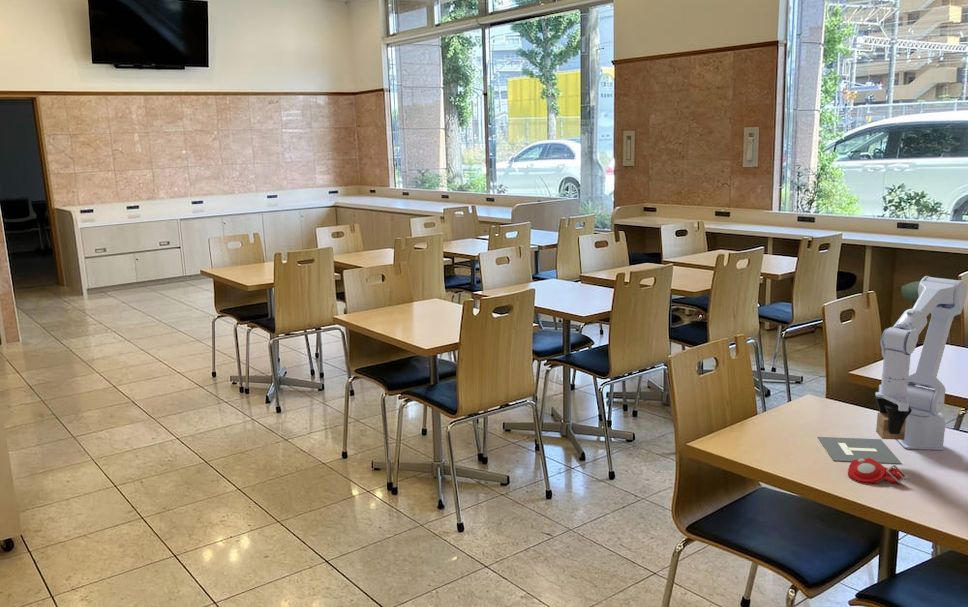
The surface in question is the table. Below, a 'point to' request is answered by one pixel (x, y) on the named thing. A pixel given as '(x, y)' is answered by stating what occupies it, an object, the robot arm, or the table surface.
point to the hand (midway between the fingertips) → (890, 429)
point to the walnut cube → (884, 428)
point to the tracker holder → (873, 472)
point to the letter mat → (858, 449)
